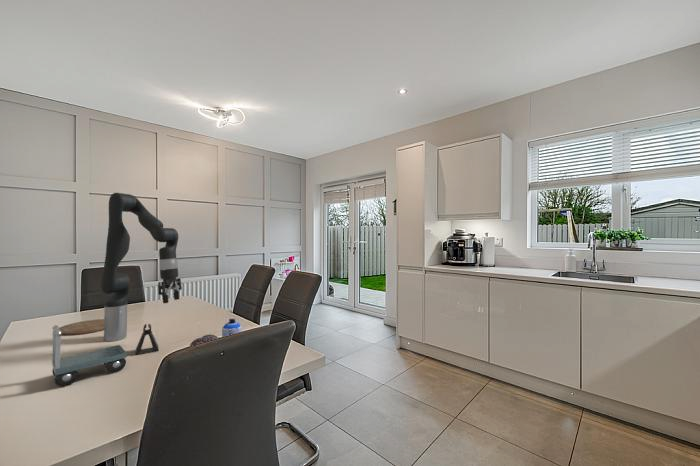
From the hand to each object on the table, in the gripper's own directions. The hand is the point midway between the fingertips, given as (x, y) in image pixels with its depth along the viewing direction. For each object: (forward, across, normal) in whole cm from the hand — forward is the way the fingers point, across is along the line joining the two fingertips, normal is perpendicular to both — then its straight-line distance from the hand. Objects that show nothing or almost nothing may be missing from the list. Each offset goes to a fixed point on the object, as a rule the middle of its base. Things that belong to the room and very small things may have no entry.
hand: (171, 301), depth 141 cm
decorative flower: (+25, +17, +22) cm, 38 cm away
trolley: (+21, +29, -15) cm, 39 cm away
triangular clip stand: (+21, +6, -9) cm, 24 cm away
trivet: (+14, -24, -65) cm, 71 cm away
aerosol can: (+27, +22, +36) cm, 50 cm away
